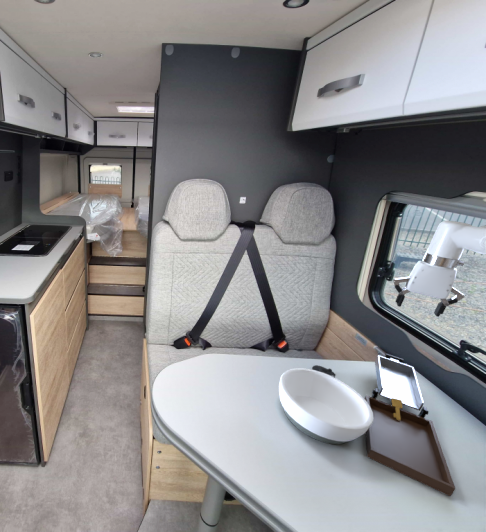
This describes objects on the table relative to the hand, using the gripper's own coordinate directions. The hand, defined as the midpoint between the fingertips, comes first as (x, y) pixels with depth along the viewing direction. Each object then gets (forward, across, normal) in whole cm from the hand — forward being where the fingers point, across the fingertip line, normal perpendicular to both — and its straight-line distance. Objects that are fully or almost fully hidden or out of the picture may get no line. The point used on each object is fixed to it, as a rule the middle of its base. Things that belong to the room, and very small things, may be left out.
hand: (416, 309), depth 101 cm
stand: (+26, 0, +22) cm, 34 cm away
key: (+24, 0, +24) cm, 34 cm away
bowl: (+26, +20, +41) cm, 52 cm away
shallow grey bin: (+22, 0, +11) cm, 25 cm away
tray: (+26, 0, +35) cm, 44 cm away
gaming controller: (+26, +19, +20) cm, 38 cm away
